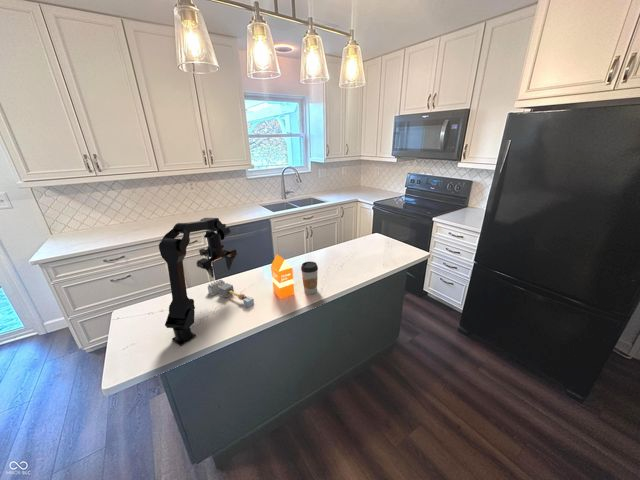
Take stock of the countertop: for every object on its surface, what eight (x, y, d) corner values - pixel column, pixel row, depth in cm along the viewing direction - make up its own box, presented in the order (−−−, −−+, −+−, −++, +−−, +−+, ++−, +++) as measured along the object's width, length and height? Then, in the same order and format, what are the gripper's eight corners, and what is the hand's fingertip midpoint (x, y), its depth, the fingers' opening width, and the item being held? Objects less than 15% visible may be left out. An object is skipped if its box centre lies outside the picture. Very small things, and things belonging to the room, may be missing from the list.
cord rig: (257, 301, 123) (256, 292, 122) (244, 310, 117) (243, 301, 116) (222, 286, 138) (220, 278, 137) (208, 293, 132) (207, 284, 130)
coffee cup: (304, 297, 126) (302, 269, 121) (300, 288, 134) (299, 262, 129) (320, 294, 128) (319, 266, 123) (316, 285, 136) (315, 260, 131)
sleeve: (234, 292, 130) (232, 285, 129) (225, 297, 126) (224, 289, 125) (227, 290, 133) (226, 282, 132) (219, 294, 129) (218, 287, 128)
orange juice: (280, 299, 125) (276, 261, 118) (273, 291, 132) (269, 255, 125) (294, 293, 129) (292, 257, 122) (286, 286, 136) (283, 251, 129)
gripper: (221, 235, 132) (226, 262, 137) (186, 247, 117) (193, 277, 123) (235, 238, 126) (240, 267, 131) (200, 252, 111) (207, 283, 117)
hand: (220, 273), depth 126 cm, fingers open, 9 cm apart
